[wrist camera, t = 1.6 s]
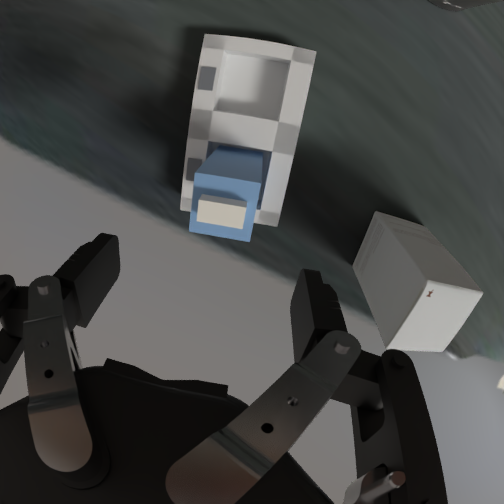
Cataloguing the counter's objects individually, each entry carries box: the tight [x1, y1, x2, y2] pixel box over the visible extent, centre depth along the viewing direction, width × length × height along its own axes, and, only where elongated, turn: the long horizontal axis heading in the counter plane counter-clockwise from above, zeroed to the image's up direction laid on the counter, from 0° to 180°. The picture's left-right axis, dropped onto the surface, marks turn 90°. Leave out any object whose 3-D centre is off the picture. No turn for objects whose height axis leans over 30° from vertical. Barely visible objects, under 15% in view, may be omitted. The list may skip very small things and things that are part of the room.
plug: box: [189, 145, 263, 242], centre depth 22 cm, size 4×4×11 cm
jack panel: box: [180, 34, 316, 227], centre depth 24 cm, size 16×9×3 cm, turn 170°
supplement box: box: [352, 211, 483, 352], centre depth 25 cm, size 7×7×13 cm
